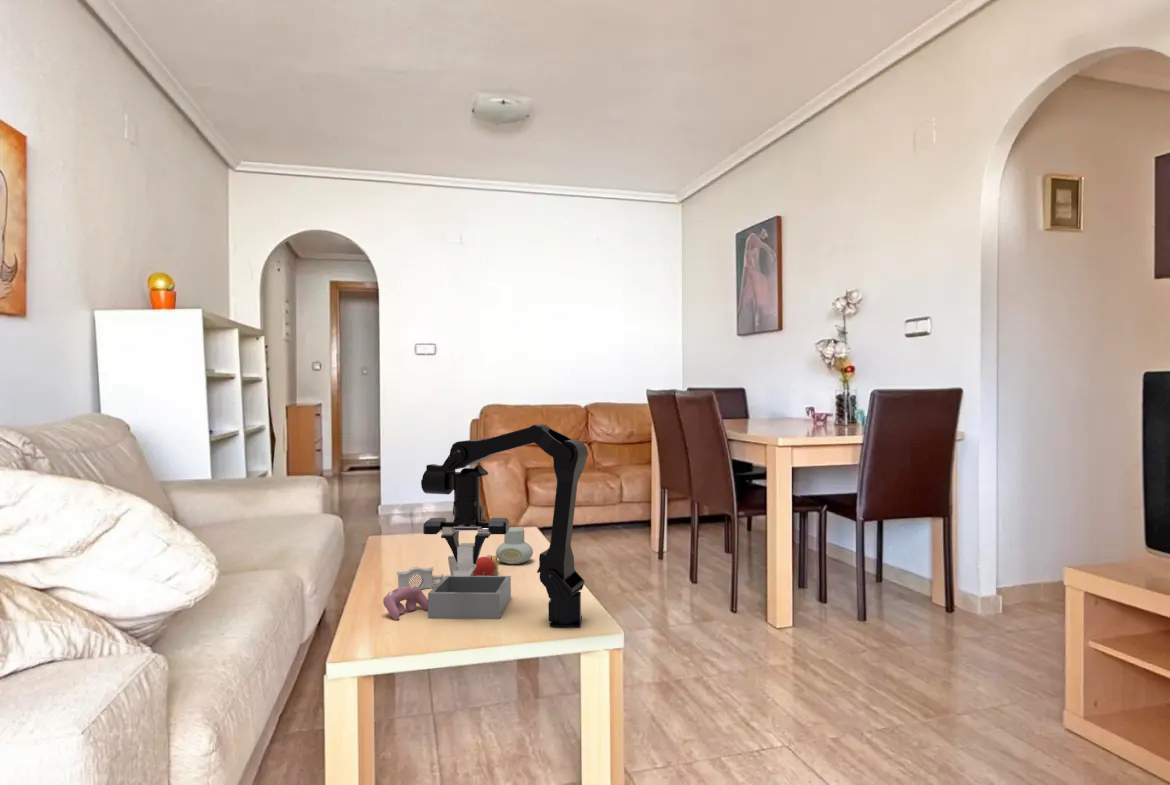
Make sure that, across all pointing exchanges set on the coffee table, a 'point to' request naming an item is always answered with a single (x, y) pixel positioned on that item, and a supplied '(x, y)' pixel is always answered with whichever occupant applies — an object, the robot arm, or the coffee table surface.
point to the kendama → (486, 566)
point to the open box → (470, 597)
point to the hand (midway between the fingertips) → (467, 563)
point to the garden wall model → (425, 576)
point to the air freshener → (514, 547)
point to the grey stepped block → (465, 560)
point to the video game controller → (404, 593)
